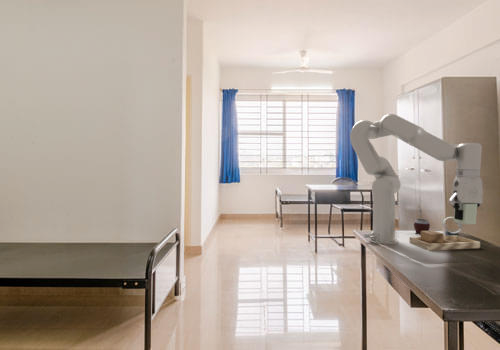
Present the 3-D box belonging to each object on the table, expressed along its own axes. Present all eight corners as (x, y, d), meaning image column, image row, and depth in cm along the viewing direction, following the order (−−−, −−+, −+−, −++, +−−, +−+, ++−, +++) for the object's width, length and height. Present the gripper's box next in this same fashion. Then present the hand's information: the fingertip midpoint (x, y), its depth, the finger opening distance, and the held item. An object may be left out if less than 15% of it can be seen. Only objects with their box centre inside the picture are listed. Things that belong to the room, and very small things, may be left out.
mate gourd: (424, 237, 141) (425, 208, 141) (409, 234, 148) (409, 206, 148) (432, 235, 145) (433, 207, 144) (417, 232, 152) (418, 205, 151)
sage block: (464, 224, 109) (466, 204, 108) (453, 221, 114) (454, 202, 113) (475, 224, 110) (477, 204, 109) (464, 221, 115) (465, 202, 114)
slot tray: (428, 252, 116) (429, 244, 116) (409, 244, 128) (409, 237, 128) (480, 250, 120) (480, 242, 120) (456, 242, 131) (456, 235, 131)
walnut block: (430, 247, 119) (431, 234, 119) (420, 244, 125) (420, 230, 125) (443, 247, 120) (443, 233, 120) (432, 243, 126) (432, 230, 126)
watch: (463, 241, 134) (464, 218, 133) (443, 239, 137) (444, 217, 137) (460, 238, 139) (461, 216, 138) (441, 236, 142) (442, 215, 142)
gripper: (456, 174, 106) (454, 221, 107) (495, 175, 108) (492, 221, 109) (440, 173, 113) (438, 217, 114) (477, 174, 116) (474, 217, 117)
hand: (464, 218), depth 112 cm, fingers closed on sage block, 5 cm apart
